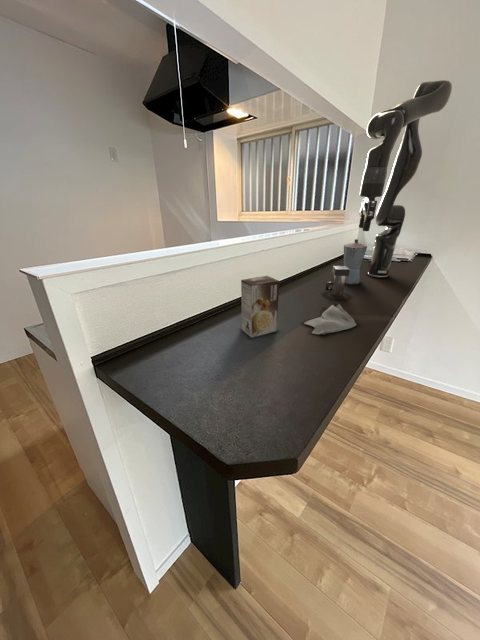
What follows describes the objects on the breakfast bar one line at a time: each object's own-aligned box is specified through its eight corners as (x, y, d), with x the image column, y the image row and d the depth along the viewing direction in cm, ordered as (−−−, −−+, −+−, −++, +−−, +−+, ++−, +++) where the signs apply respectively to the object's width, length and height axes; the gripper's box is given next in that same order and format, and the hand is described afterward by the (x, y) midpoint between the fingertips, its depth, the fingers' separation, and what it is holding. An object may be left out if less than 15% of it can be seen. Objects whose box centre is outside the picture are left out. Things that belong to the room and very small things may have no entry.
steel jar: (342, 292, 109) (346, 266, 105) (344, 296, 105) (349, 269, 100) (324, 291, 110) (327, 265, 106) (325, 295, 106) (329, 268, 101)
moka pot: (337, 286, 120) (344, 240, 111) (339, 277, 132) (345, 235, 124) (359, 288, 116) (369, 242, 108) (359, 279, 129) (367, 237, 121)
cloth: (338, 342, 74) (339, 335, 73) (295, 327, 82) (296, 321, 81) (369, 314, 91) (370, 308, 90) (331, 304, 100) (332, 298, 99)
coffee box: (265, 323, 85) (268, 275, 78) (277, 331, 80) (280, 280, 73) (240, 329, 81) (240, 279, 74) (251, 338, 76) (252, 285, 69)
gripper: (390, 181, 87) (378, 232, 94) (379, 182, 99) (370, 227, 107) (365, 181, 89) (356, 231, 96) (358, 182, 101) (350, 226, 108)
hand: (363, 229), depth 101 cm, fingers open, 8 cm apart
